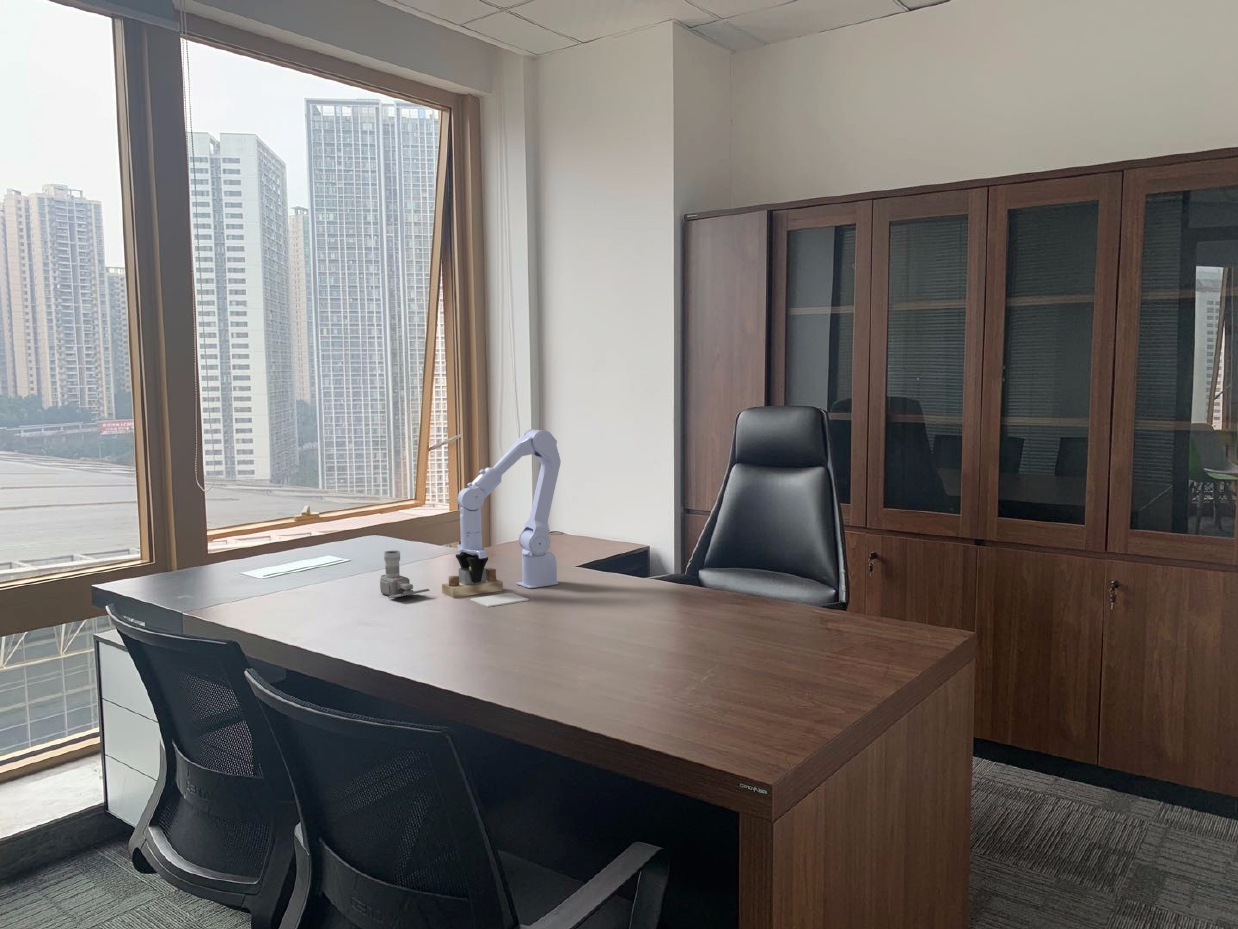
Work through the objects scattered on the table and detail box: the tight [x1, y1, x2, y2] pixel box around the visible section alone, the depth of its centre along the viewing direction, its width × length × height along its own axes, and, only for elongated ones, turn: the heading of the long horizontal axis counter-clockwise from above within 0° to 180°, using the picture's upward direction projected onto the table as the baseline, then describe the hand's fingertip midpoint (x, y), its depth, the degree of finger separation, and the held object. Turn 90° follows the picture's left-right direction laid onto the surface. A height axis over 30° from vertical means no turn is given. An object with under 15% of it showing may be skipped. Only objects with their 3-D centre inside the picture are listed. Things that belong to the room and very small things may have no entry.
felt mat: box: [470, 592, 529, 608], centre depth 246 cm, size 12×10×1 cm
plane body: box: [441, 567, 504, 599], centre depth 257 cm, size 15×7×6 cm, turn 125°
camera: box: [379, 550, 430, 599], centre depth 252 cm, size 9×12×15 cm
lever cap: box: [458, 567, 487, 586], centre depth 257 cm, size 6×4×4 cm
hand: (472, 580), depth 257 cm, fingers open, 5 cm apart
